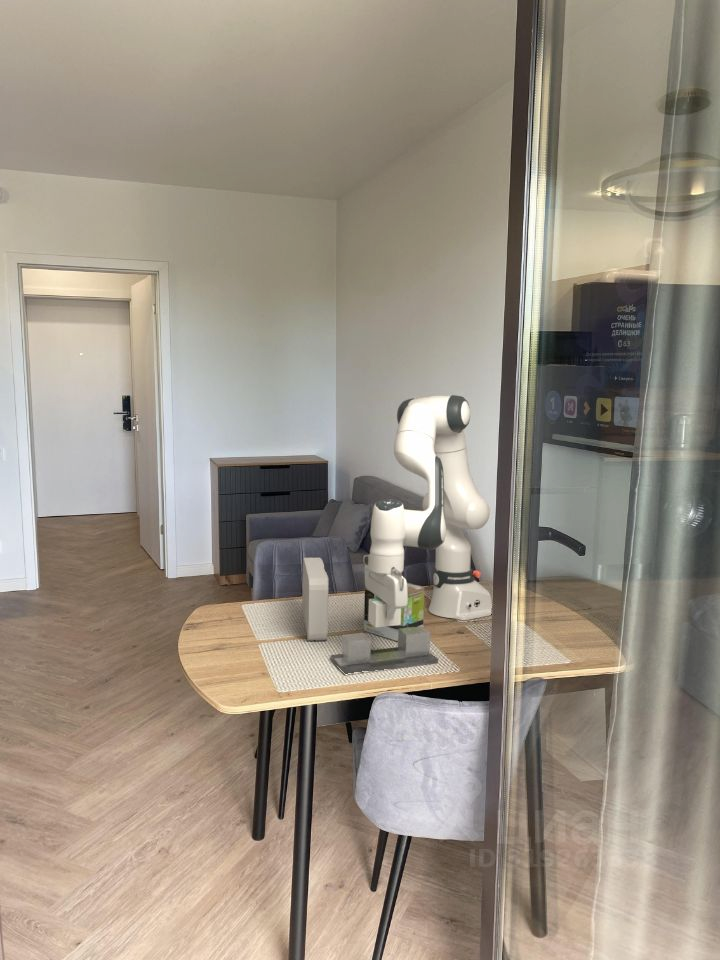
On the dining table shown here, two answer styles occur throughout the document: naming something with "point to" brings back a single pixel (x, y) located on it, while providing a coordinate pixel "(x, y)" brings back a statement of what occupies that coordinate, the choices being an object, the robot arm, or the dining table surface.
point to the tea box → (409, 615)
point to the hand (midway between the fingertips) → (384, 615)
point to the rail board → (385, 652)
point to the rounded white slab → (315, 599)
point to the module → (381, 614)
